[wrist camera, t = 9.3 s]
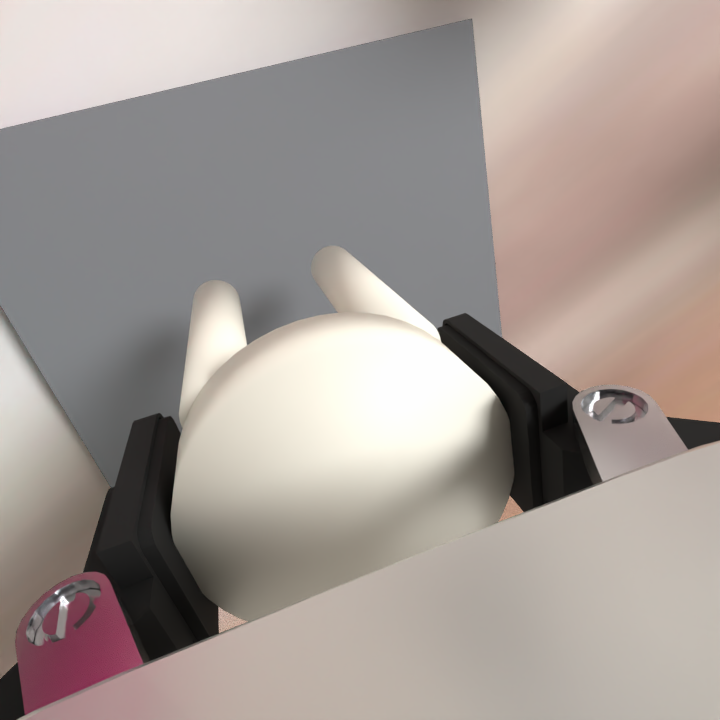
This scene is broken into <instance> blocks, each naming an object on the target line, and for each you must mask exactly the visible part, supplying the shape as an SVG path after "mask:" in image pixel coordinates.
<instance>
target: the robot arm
mask: <svg viewBox="0 0 720 720" xmlns="http://www.w3.org/2000/svg"><path fill="white" fill-rule="evenodd" d="M437 331H438V333H439V335H440V339H441V342H442V343H443V344H444V345H445V346H446V347H447V348H448V349H449V350H450V351H452V352H453V353H454V354H455V355H456V356H457V357H458V358H459V359H460V360H462V361H463V362H464V363H465V364H466V365H467V366H468V367H469V368H470V369H472V370H473V371H474V372H475V373H476V374H477V375H478V376H479V377H480V378H482V379H483V380H484V381H485V382H486V383H487V384H488V385H489V387H490V388H491V389H492V390H493V392H494V393H495V394H496V395H497V397H498V398H499V400H500V402H501V403H502V405H503V407H504V409H505V411H506V413H507V415H508V418H509V421H510V431H511V442H512V453H513V463H514V480H513V484H512V488H511V492H510V496H511V497H512V498H513V499H514V501H515V502H516V503H517V504H518V505H519V507H520V508H521V509H522V510H523V511H524V512H523V513H521V514H518V515H516V516H513V517H510V518H508V519H505V520H503V521H500V522H498V523H495V524H492V525H490V526H487V527H485V528H482V529H480V530H477V531H475V532H472V533H469V534H467V535H464V536H462V537H459V538H457V539H454V540H452V541H449V542H447V543H444V544H442V545H439V546H437V547H434V548H432V549H429V550H426V551H424V552H421V553H419V554H416V555H414V556H411V557H409V558H406V559H404V560H401V561H399V562H396V563H394V564H391V565H389V566H386V567H384V568H381V569H378V570H376V571H373V572H371V573H368V574H366V575H363V576H361V577H358V578H356V579H353V580H351V581H348V582H346V583H343V584H341V585H338V586H336V587H333V588H331V589H328V590H326V591H323V592H321V593H318V594H316V595H313V596H311V597H308V598H306V599H303V600H301V601H298V602H296V603H293V604H291V605H288V606H286V607H283V608H281V609H278V610H276V611H273V612H271V613H269V614H266V615H264V616H261V617H259V618H256V619H254V620H251V621H249V622H246V623H244V624H241V625H239V626H236V627H234V628H231V629H229V630H226V631H224V632H221V633H219V626H218V606H217V605H216V604H215V603H213V602H212V601H210V600H209V599H208V598H207V597H206V596H205V595H204V594H203V593H202V592H201V590H200V588H199V586H198V585H197V583H196V581H195V579H194V578H193V576H192V574H191V572H190V570H189V569H188V567H187V565H186V563H185V562H184V560H183V558H182V556H181V555H180V553H179V551H178V549H177V548H176V546H175V544H174V541H173V537H172V529H171V506H172V497H173V488H174V479H175V470H176V462H177V453H178V444H179V439H180V436H181V433H180V431H179V429H178V427H177V425H176V423H175V421H174V419H173V418H172V417H171V416H168V417H163V416H162V414H160V413H157V414H154V415H150V416H147V417H144V418H141V419H138V420H135V421H133V423H132V427H131V430H130V434H129V437H128V441H127V444H126V448H125V452H124V455H123V459H122V462H121V466H120V469H119V473H118V476H117V480H116V483H115V487H112V488H110V489H109V491H108V493H107V495H106V498H105V501H104V505H103V508H102V511H101V515H100V518H99V521H98V525H97V528H96V531H95V535H94V538H93V541H92V545H91V548H90V551H89V555H88V558H87V561H86V565H85V568H84V571H83V573H81V574H78V575H75V576H72V577H70V578H68V579H66V580H64V581H62V582H60V583H59V584H57V585H55V586H54V587H53V588H51V589H50V590H49V591H47V592H46V593H45V594H43V595H42V596H41V597H40V598H39V599H38V600H37V601H36V602H35V603H34V604H33V605H32V606H31V608H30V609H29V610H28V612H27V613H26V614H25V616H24V617H23V619H22V620H21V623H20V625H19V627H18V629H17V631H16V639H15V646H16V653H17V661H18V662H17V663H16V664H15V665H14V666H13V667H12V668H11V669H10V670H9V671H8V672H7V673H6V674H5V675H4V676H3V677H2V678H1V679H0V720H720V423H717V422H708V421H698V420H689V419H680V418H670V417H666V416H665V415H664V413H663V412H662V410H661V409H660V407H659V406H658V404H657V403H656V402H655V401H654V400H653V399H652V398H651V397H650V396H649V395H648V394H646V393H644V392H642V391H640V390H638V389H634V388H631V387H628V386H620V385H601V386H595V387H591V388H588V389H586V390H583V391H581V392H578V391H577V390H575V389H574V388H572V387H571V386H570V385H568V384H567V383H566V382H564V381H563V380H562V379H560V378H559V377H557V376H556V375H554V374H553V373H552V372H550V371H549V370H547V369H546V368H544V367H543V366H542V365H540V364H539V363H537V362H536V361H534V360H533V359H531V358H530V357H529V356H527V355H526V354H524V353H523V352H521V351H520V350H519V349H517V348H516V347H514V346H513V345H511V344H510V343H509V342H507V341H506V340H504V339H503V338H501V337H500V336H499V335H497V334H496V333H494V332H493V331H491V330H490V329H489V328H487V327H486V326H484V325H483V324H481V323H480V322H479V321H477V320H476V319H474V318H473V317H471V316H470V315H469V314H467V313H463V314H460V315H457V316H454V317H451V318H448V319H445V320H443V325H442V327H439V328H438V329H437Z"/></svg>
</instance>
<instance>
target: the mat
mask: <svg viewBox="0 0 720 720" xmlns="http://www.w3.org/2000/svg"><path fill="white" fill-rule="evenodd" d="M327 246H339V247H341V248H343V249H345V250H346V251H347V252H349V253H350V254H351V255H352V256H353V257H354V258H356V259H357V260H358V261H359V262H360V263H361V264H363V265H364V266H365V267H366V268H367V269H368V270H370V271H371V272H372V273H373V274H374V275H375V276H377V277H378V278H379V279H380V280H381V281H382V282H384V283H385V284H386V285H387V286H388V287H389V288H391V289H392V290H393V291H394V292H395V293H396V294H398V295H399V296H400V297H401V298H402V299H403V300H404V301H406V302H407V303H408V304H409V305H410V306H411V307H413V308H414V309H415V310H416V311H417V312H418V313H420V314H421V315H422V316H423V317H424V318H425V319H427V320H428V321H429V322H430V323H431V324H432V325H434V327H435V328H436V329H438V328H439V327H442V325H443V320H445V319H448V318H451V317H454V316H457V315H460V314H463V313H467V314H469V315H470V316H471V317H473V318H474V319H476V320H477V321H479V322H480V323H481V324H483V325H484V326H486V327H487V328H489V329H490V330H491V331H493V332H494V333H496V334H497V335H499V336H500V337H501V338H502V332H501V321H500V311H499V300H498V289H497V279H496V268H495V257H494V247H493V236H492V225H491V215H490V204H489V193H488V183H487V172H486V162H485V151H484V140H483V130H482V119H481V108H480V98H479V87H478V76H477V66H476V55H475V45H474V34H473V23H472V19H468V20H464V21H460V22H455V23H451V24H447V25H443V26H438V27H434V28H430V29H426V30H421V31H417V32H413V33H408V34H404V35H400V36H396V37H391V38H387V39H383V40H379V41H374V42H370V43H366V44H361V45H357V46H353V47H349V48H344V49H340V50H336V51H332V52H327V53H323V54H319V55H314V56H310V57H306V58H302V59H297V60H293V61H289V62H285V63H280V64H276V65H272V66H267V67H263V68H259V69H255V70H250V71H246V72H242V73H238V74H233V75H229V76H225V77H220V78H216V79H212V80H208V81H203V82H199V83H195V84H191V85H186V86H182V87H178V88H173V89H169V90H165V91H161V92H156V93H152V94H148V95H144V96H139V97H135V98H131V99H126V100H122V101H118V102H114V103H109V104H105V105H101V106H97V107H92V108H88V109H84V110H79V111H75V112H71V113H67V114H62V115H58V116H54V117H50V118H45V119H41V120H37V121H33V122H28V123H24V124H20V125H15V126H11V127H7V128H3V129H0V306H1V307H2V309H3V311H4V312H5V314H6V316H7V317H8V319H9V320H10V322H11V324H12V325H13V327H14V329H15V330H16V332H17V334H18V335H19V337H20V339H21V340H22V342H23V344H24V345H25V347H26V349H27V350H28V352H29V353H30V355H31V357H32V358H33V360H34V362H35V363H36V365H37V367H38V368H39V370H40V372H41V373H42V375H43V377H44V378H45V380H46V381H47V383H48V385H49V386H50V388H51V390H52V391H53V393H54V395H55V396H56V398H57V400H58V401H59V403H60V405H61V406H62V408H63V409H64V411H65V413H66V414H67V416H68V418H69V419H70V421H71V423H72V424H73V426H74V428H75V429H76V431H77V433H78V434H79V436H80V437H81V439H82V441H83V442H84V444H85V446H86V447H87V449H88V451H89V452H90V454H91V456H92V457H93V459H94V461H95V462H96V464H97V465H98V467H99V469H100V470H101V472H102V474H103V475H104V477H105V479H106V480H107V482H108V484H109V485H110V487H111V488H112V487H115V483H116V480H117V476H118V473H119V469H120V466H121V462H122V459H123V455H124V452H125V448H126V444H127V441H128V437H129V434H130V430H131V427H132V423H133V421H135V420H138V419H141V418H144V417H147V416H150V415H154V414H157V413H160V414H162V416H163V417H168V416H171V417H172V418H173V419H174V421H175V423H176V425H177V427H178V429H179V431H180V433H181V432H182V429H183V428H182V426H181V423H180V420H179V408H180V400H181V392H182V384H183V377H184V369H185V361H186V353H187V345H188V337H189V329H190V321H191V313H192V305H193V298H194V294H195V292H196V290H197V289H198V287H199V286H201V285H202V284H203V283H205V282H208V281H211V280H220V281H224V282H227V283H228V284H230V285H231V286H233V287H234V288H235V290H236V291H237V293H238V295H239V298H240V304H241V311H242V317H243V323H244V329H245V336H246V342H247V345H248V344H250V343H251V342H253V341H254V340H256V339H258V338H259V337H261V336H263V335H265V334H267V333H269V332H271V331H273V330H275V329H277V328H279V327H282V326H285V325H287V324H290V323H293V322H295V321H298V320H302V319H306V318H310V317H314V316H318V315H325V314H333V313H338V312H337V311H336V309H335V308H334V307H333V305H332V304H331V302H330V301H329V300H328V298H327V297H326V295H325V294H324V292H323V291H322V290H321V288H320V287H319V285H318V284H317V283H316V281H315V280H314V278H313V276H312V273H311V263H312V260H313V258H314V256H315V254H316V253H317V252H318V251H319V250H321V249H322V248H324V247H327Z"/></svg>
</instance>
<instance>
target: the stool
mask: <svg viewBox="0 0 720 720" xmlns="http://www.w3.org/2000/svg"><path fill="white" fill-rule="evenodd" d="M311 273H312V276H313V278H314V280H315V281H316V283H317V284H318V285H319V287H320V288H321V290H322V291H323V292H324V294H325V295H326V297H327V298H328V300H329V301H330V302H331V304H332V305H333V307H334V308H335V309H336V311H337V312H338V313H333V314H325V315H318V316H314V317H310V318H306V319H302V320H298V321H295V322H293V323H290V324H287V325H285V326H282V327H279V328H277V329H275V330H273V331H271V332H269V333H267V334H265V335H263V336H261V337H259V338H258V339H256V340H254V341H253V342H251V343H250V344H248V345H247V342H246V336H245V329H244V323H243V317H242V311H241V304H240V298H239V295H238V293H237V291H236V290H235V288H234V287H233V286H231V285H230V284H228V283H227V282H224V281H220V280H211V281H208V282H205V283H203V284H202V285H201V286H199V287H198V289H197V290H196V292H195V294H194V298H193V305H192V313H191V321H190V329H189V337H188V345H187V353H186V361H185V369H184V377H183V384H182V392H181V400H180V408H179V420H180V423H181V426H182V428H183V429H182V432H181V436H180V439H179V444H178V453H177V462H176V470H175V479H174V488H173V497H172V506H171V529H172V537H173V541H174V544H175V546H176V548H177V549H178V551H179V553H180V555H181V556H182V558H183V560H184V562H185V563H186V565H187V567H188V569H189V570H190V572H191V574H192V576H193V578H194V579H195V581H196V583H197V585H198V586H199V588H200V590H201V592H202V593H203V594H204V595H205V596H206V597H207V598H208V599H209V600H210V601H212V602H213V603H215V604H216V605H217V606H219V607H220V608H221V609H223V610H225V611H227V612H228V613H230V614H232V615H234V616H236V617H238V618H240V619H243V620H246V621H248V622H249V621H251V620H254V619H256V618H259V617H261V616H264V615H266V614H269V613H271V612H273V611H276V610H278V609H281V608H283V607H286V606H288V605H291V604H293V603H296V602H298V601H301V600H303V599H306V598H308V597H311V596H313V595H316V594H318V593H321V592H323V591H326V590H328V589H331V588H333V587H336V586H338V585H341V584H343V583H346V582H348V581H351V580H353V579H356V578H358V577H361V576H363V575H366V574H368V573H371V572H373V571H376V570H378V569H381V568H384V567H386V566H389V565H391V564H394V563H396V562H399V561H401V560H404V559H406V558H409V557H411V556H414V555H416V554H419V553H421V552H424V551H426V550H429V549H432V548H434V547H437V546H439V545H442V544H444V543H447V542H449V541H452V540H454V539H457V538H459V537H462V536H464V535H467V534H469V533H472V532H475V531H477V530H480V529H482V528H485V527H487V526H490V525H492V524H495V523H498V521H499V519H500V517H501V516H502V513H503V511H504V509H505V506H506V504H507V501H508V499H509V495H510V492H511V488H512V484H513V480H514V463H513V453H512V442H511V431H510V421H509V418H508V415H507V413H506V411H505V409H504V407H503V405H502V403H501V402H500V400H499V398H498V397H497V395H496V394H495V393H494V392H493V390H492V389H491V388H490V387H489V385H488V384H487V383H486V382H485V381H484V380H483V379H482V378H480V377H479V376H478V375H477V374H476V373H475V372H474V371H473V370H472V369H470V368H469V367H468V366H467V365H466V364H465V363H464V362H463V361H462V360H460V359H459V358H458V357H457V356H456V355H455V354H454V353H453V352H452V351H450V350H449V349H448V348H447V347H446V346H445V345H444V344H443V343H442V342H441V339H440V335H439V333H438V331H437V329H436V328H435V327H434V325H432V324H431V323H430V322H429V321H428V320H427V319H425V318H424V317H423V316H422V315H421V314H420V313H418V312H417V311H416V310H415V309H414V308H413V307H411V306H410V305H409V304H408V303H407V302H406V301H404V300H403V299H402V298H401V297H400V296H399V295H398V294H396V293H395V292H394V291H393V290H392V289H391V288H389V287H388V286H387V285H386V284H385V283H384V282H382V281H381V280H380V279H379V278H378V277H377V276H375V275H374V274H373V273H372V272H371V271H370V270H368V269H367V268H366V267H365V266H364V265H363V264H361V263H360V262H359V261H358V260H357V259H356V258H354V257H353V256H352V255H351V254H350V253H349V252H347V251H346V250H345V249H343V248H341V247H339V246H327V247H324V248H322V249H321V250H319V251H318V252H317V253H316V254H315V256H314V258H313V260H312V263H311Z"/></svg>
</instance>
